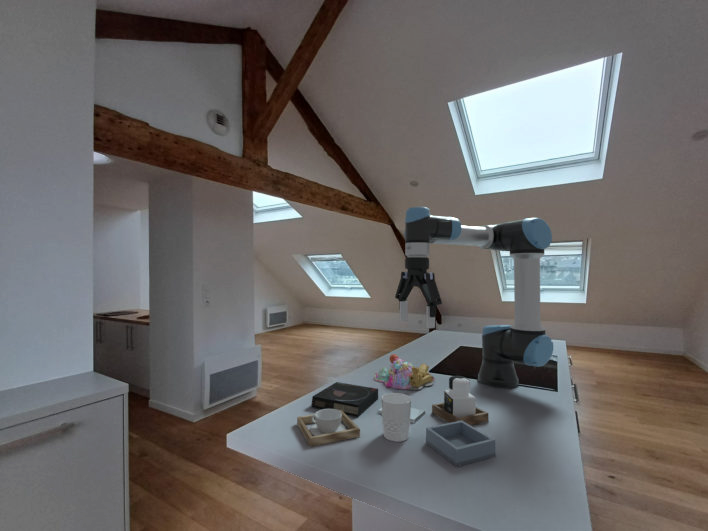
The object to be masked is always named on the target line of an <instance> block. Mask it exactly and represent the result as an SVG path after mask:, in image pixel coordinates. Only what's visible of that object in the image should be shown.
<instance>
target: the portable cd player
mask: <svg viewBox="0 0 708 531" xmlns="http://www.w3.org/2000/svg"><path fill="white" fill-rule="evenodd" d="M378 400H379V388H375V387H369V386H363V385H358V384H357V385H356V384H350V383H345V382H338V381H336V382H334V383H332V384H331V385H330V386H326V388H324V389H323V390H320V391H319V392H317V393H315V394H314V395H313V396H312V398H311V408H312V409H317V410H322V409H336V410H342V411H343V412H344V413H345V414H346V415H347V416H348V417H350V416H351V417H354V418H359V417H360V416H361V415H363V414H364V413H365V412H366V411H367V410H368V409H370V407H372V406H373V405H374V404H375V403H376V402H377V401H378Z"/></svg>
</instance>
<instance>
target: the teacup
mask: <svg viewBox="0 0 708 531" xmlns="http://www.w3.org/2000/svg"><path fill="white" fill-rule="evenodd" d="M311 415H312V417H311V419H312V422H313V423H312V424H313V425H312V426H311V427H310V428H309V432H310V433H311V435H312V436H317V435H323V434H328V433H333V432H339V431H344V430H347V427H346V425H345V424H342V423H341V422H342V420H341V417H342V413H341V412H340V411H339V410H336V409H322V410H321V409H318V411H316V412H315V413H314V415H313V414H311ZM313 416H314V417H315V420H314V417H313Z"/></svg>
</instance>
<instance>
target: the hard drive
mask: <svg viewBox="0 0 708 531" xmlns="http://www.w3.org/2000/svg"><path fill="white" fill-rule="evenodd" d="M377 414H379V415H382V407H380V408H379V409H377ZM425 415H426V410H422V409H418V408H415V407H411V414H410V423H413V424H416V423H417V422H418V421H419V420H420V419H421V418H423V416H425Z"/></svg>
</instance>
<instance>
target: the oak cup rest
mask: <svg viewBox="0 0 708 531" xmlns="http://www.w3.org/2000/svg"><path fill="white" fill-rule="evenodd" d="M339 411H340V412H341V413H342V417H341V422H343V423H344V425H345V426H347V428H348V429H346V430H344V431H339V432H333V433H328V434H323V435H317V436H314V435H312V434H311V432H310V429H308V427H307V425H308V424H314V423H313V422H312V419H311V417H312V415H314V414H315V413H314V414H313V413H312V414H308V415H307V414H306V415H301V416H297V417H296V418H297V421H296V424H297V426H298V428H299V430H300V432H301V433H302V435H303V437H304V438H305V440H306V442H307V443H308V446H309V447H314V446H321V445H326V444H330V443H335V442H340V441H345V440H349V439H350V440H351V439H353V438H354V439H355V438H359V437H360V436H361V429H360V427H359V426H357V424H356V423H355V422H354V421H353V420H352V419H351V418H350V416H349V415H346V414H345V413H344V412H343V411H342V410H339ZM313 417H314V416H313ZM314 420H315V417H314ZM306 424H307V425H306ZM360 438H361V437H360Z"/></svg>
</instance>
